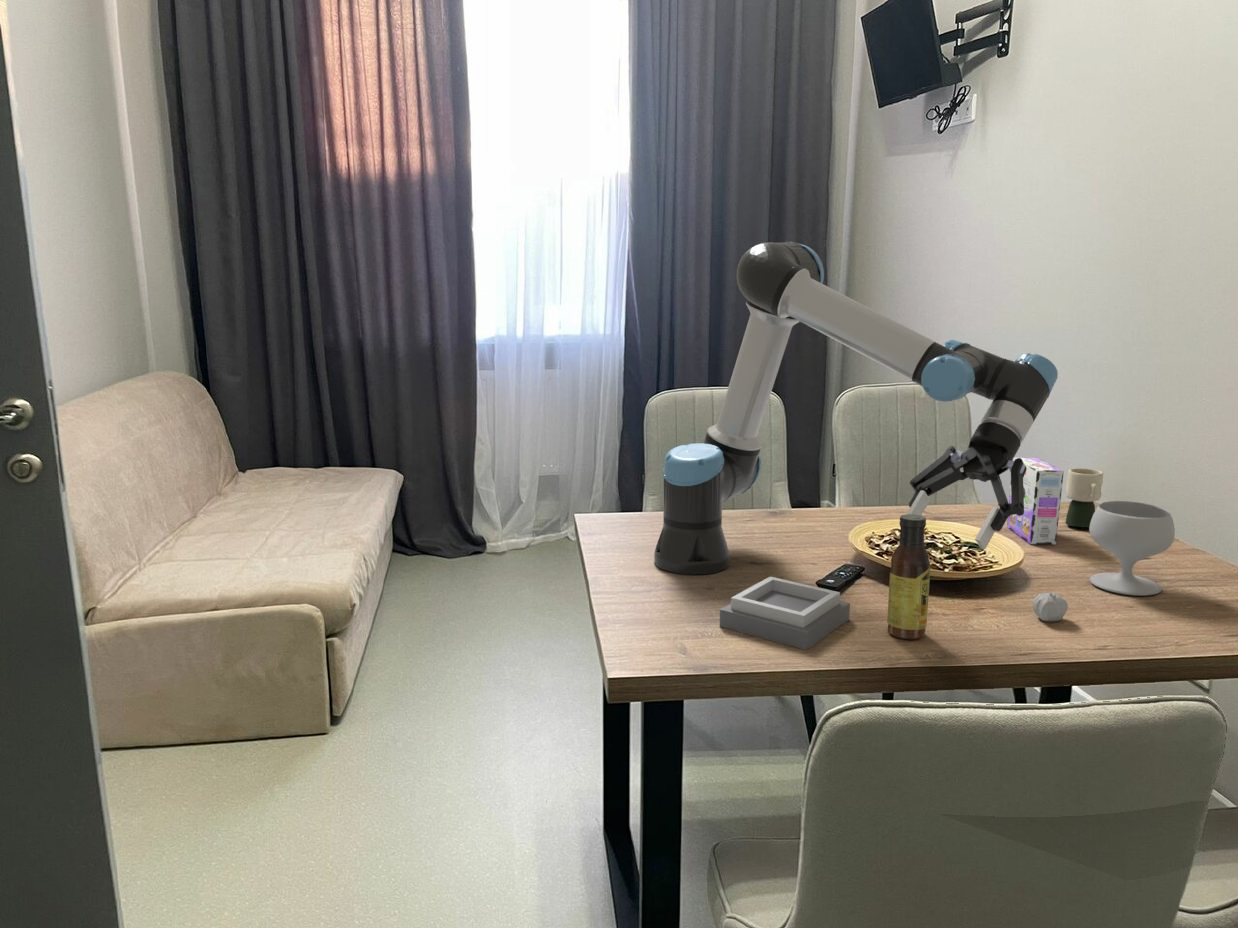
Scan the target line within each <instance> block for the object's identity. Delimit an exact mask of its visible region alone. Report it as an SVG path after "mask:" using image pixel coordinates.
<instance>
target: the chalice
mask: <svg viewBox="0 0 1238 928" xmlns="http://www.w3.org/2000/svg"><path fill="white" fill-rule="evenodd" d="M1088 529H1089V533H1090V536H1091V539H1092V540H1093V541H1094V542H1095V543H1096V544H1097V545H1098V546H1099V547H1101V548H1102V549H1105V550H1106V551H1107V552H1109V553H1111V554H1112V555H1113V556H1114V557H1116V558H1117V559H1118V561H1119V563H1120V567H1121V568H1120V572H1101V573H1095V574H1093V575H1091V576H1090V577H1089V578H1088V581H1089V582H1090V583H1091V584H1092V585H1093V586H1095V587H1096V588H1098V589H1099V588H1100V589H1101V590H1102V589H1103V590H1104V591H1108V592H1111V593H1116V594H1121V595H1127V596H1140V597H1141V596H1153V595H1157V594H1160V593H1161V592H1162V590H1163V589H1162V587H1161V585H1159V584H1158V583H1157V582H1156V581H1154V580H1151V579H1149V578H1146V577H1143V576H1139V575H1134V574H1133V569H1134V566H1135V564H1137V563H1138V562H1139V561H1141V560H1144V559H1146V558H1150V557H1152V556H1156V555H1159V554H1161V553H1164V552H1165V551H1167V550H1168V549H1170V548H1171V547H1172V545H1173V544H1174V541H1175V536H1176V535H1175V533H1176V532H1175V530H1176V528H1175V524H1174V519H1173V516H1172V514H1171V513H1170V511H1169V510H1167V509H1166V508H1163V507H1161V506H1157V505H1153V504H1149V503H1144V502H1136V501H1127V500H1126V501H1125V500H1121V501H1120V500H1114V501H1113V500H1111V501H1104V502H1101V503H1100V504H1098V506H1097V508H1095V512H1094V514H1093V517H1092V519H1091V523H1090V528H1088Z"/></svg>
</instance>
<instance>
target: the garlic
mask: <svg viewBox="0 0 1238 928" xmlns="http://www.w3.org/2000/svg"><path fill="white" fill-rule="evenodd" d="M1068 607H1069V605H1068V603H1067V600H1065V598H1063V597H1061V596H1060V595H1059V594H1057V593H1054V592H1053V591H1049V592H1043V593H1039V594H1038V595H1037V596H1035V597H1034V599H1033V601H1032V610H1033V612H1034V614H1035V615H1036V616H1037V617H1038V618H1039V619H1040V620H1041V621H1042V622H1057V621H1060V620H1062V619H1063V618H1064V616H1065V615H1066V613H1067V611H1068Z"/></svg>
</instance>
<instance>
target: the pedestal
mask: <svg viewBox="0 0 1238 928" xmlns="http://www.w3.org/2000/svg"><path fill="white" fill-rule="evenodd" d="M850 610H851V602H847V601H843V600H841V591H837V590H836V591H835V590H831V589H827V588H824V587H823V588H822V587H818V586H813V585H809V584H805V583H801V582H797V581H796V582H795V581H792V580H788V579H783V578H778V577H775V576H768V577H767V578H765V579H763V580H762V581H759V582H757V583H756V584H753V585H751V586H749V587H748V588H746V589H744V590H742V591H741V592H739V593H737V594H736V595H733V596H732V597H730V603H729V604H727V605H726V606H724V607H722V608H720V609H719V627H721V628H725V629H727V630H731V631H734V632H735V631H736V632H739V633H743V634H746V635H750V636H754V637H758V638H761V639H764V640H768V641H773V642H775V643H779V644H783V645H787V646H790V647H794V648H796V649H797V648H798V649H801V650H805V651H806V650H808V649H810V648H811V647H813V646H815V644H816V643H818V642H820V641H822V640H823V639H824V638H825V637H827V636H828V635H829V634H831V633H832V632H834V631H835V630H837V629H838V628H840V627H841V626H842V625H844V624H845V623H847V622H848V621H850Z"/></svg>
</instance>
